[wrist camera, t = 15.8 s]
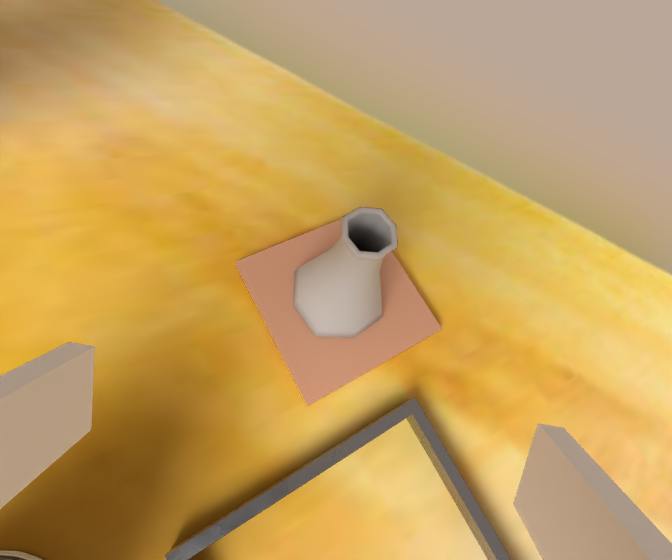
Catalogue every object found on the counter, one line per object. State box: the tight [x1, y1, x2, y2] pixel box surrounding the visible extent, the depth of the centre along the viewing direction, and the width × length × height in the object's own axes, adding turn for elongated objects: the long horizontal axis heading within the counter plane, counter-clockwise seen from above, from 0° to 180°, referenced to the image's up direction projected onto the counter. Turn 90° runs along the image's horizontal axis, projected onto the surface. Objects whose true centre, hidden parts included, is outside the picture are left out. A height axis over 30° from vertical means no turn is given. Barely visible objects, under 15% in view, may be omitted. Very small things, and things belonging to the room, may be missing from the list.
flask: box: [293, 207, 398, 338], centre depth 25 cm, size 7×7×10 cm
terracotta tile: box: [235, 219, 442, 406], centre depth 30 cm, size 12×12×1 cm
